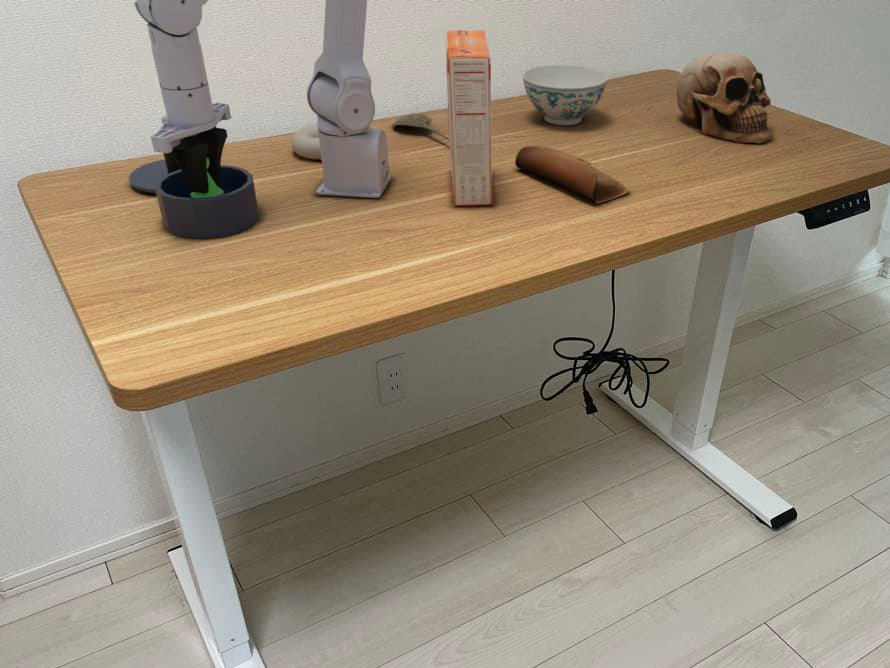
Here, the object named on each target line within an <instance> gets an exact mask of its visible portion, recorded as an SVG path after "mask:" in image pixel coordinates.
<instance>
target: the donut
mask: <svg viewBox="0 0 890 668" xmlns="http://www.w3.org/2000/svg"><path fill="white" fill-rule="evenodd" d="M290 142H291V143H290V144H291V148H292V150H293V151H294V152H295V153H296V154H297V155H298V156H299V157H302V158H304V159H309V160H316V161H317V160H319V161H322V159H321V151H320V143H319V135H318V127H317V124H312V125H308V126H303V127H302V128H300V129H298V130H296V131H295V133H293V134H292V135H291V138H290Z"/></svg>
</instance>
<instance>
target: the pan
mask: <svg viewBox="0 0 890 668" xmlns="http://www.w3.org/2000/svg"><path fill="white" fill-rule="evenodd" d="M217 187H219V188H221V189H222V190H223V191H224V194H223V195H218V196H214V197H204V198H191V195H190V194H191V193H192V192H193V191H192V190H191V188H190V186H189V184H188V182H187V180H186V178H185V176H184V174H183V172H182V170H181V169H180V170H177V171H175V172H172V173H170V174H167V175H165V176H164V177H162V178H161V179H160V180H158V181H157V182H156V187H155V191H156V193H155V195H156V200H157V203H158V207H159V211H160V215H161V220H162V223H163V226H164V227H165V230H167V231H168V232H169V233H171V234H172V235H175V236H178V237H181V238H187V239H197V240H198V239H201V240H202V239H203V240H204V239H205V240H206V239H215V238H216V239H217V238H222V237H228V236H233V235H236V234H238V233H241V232H243V231H246V230H248V229H250V228H251V227H253V226H254V225H255V224H256V223H257V222H258V221H259V219H260V210H259V203H258V198H257V192H256V186H255V180H254V175H253V174H252V173H251V172H249V170H247V169H245V168H241V167H238V166H234V165H226V164H221V165H220V180H219V185H218V186H217Z"/></svg>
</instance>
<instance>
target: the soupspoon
mask: <svg viewBox="0 0 890 668" xmlns="http://www.w3.org/2000/svg"><path fill="white" fill-rule="evenodd" d="M432 123H433V119H432V118H431V117H429V116H427V115H426V114H421V113H409V114H404V115H402V116H401V117H399V118H397V119H396V120H395V121H394V122H393V123H392V126H393V127H394V126H408V127H416V128H420V129H424V130H427V131H430V132H433V133H435V134H437V135H439V136H440V137H443V138H444V139H446V140H448V141H450V139H449V134H446V133H444V132H442V131H441V130H440V129H437V128H435V127H432V126H431V125H432Z"/></svg>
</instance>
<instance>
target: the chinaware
mask: <svg viewBox="0 0 890 668" xmlns="http://www.w3.org/2000/svg"><path fill="white" fill-rule="evenodd" d="M522 81H523V86H524V90H525V92H526V95H527V97H528V99H529V101H530V102H531V104H532V105H533V107H534V108H535V109H536V110H537V111H538V112H539V113H541V114H542V115H543V116H544V120H545V122H547V123H549V124H553V125H557V126H572V125H577V124H579V123H581V121H582V118H583V117H584V116H585V115H587V114H588V113H590V112H591V111H592V110H593V109H594V108H595V107H596V106H597V105H598V103H599V101H601V98H603V97H602V96H603V95H604V93H605V90H606V86H607V83H608V82H607V81H608V76H607V74H606V73H604V72H603V71H601V70H599V69H596V68H593V67H588V66H583V65H578V64H577V65H576V64H546V65H538V66H533V67H531V68H529V69H527V70H525V71H524V72H523V74H522Z"/></svg>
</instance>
